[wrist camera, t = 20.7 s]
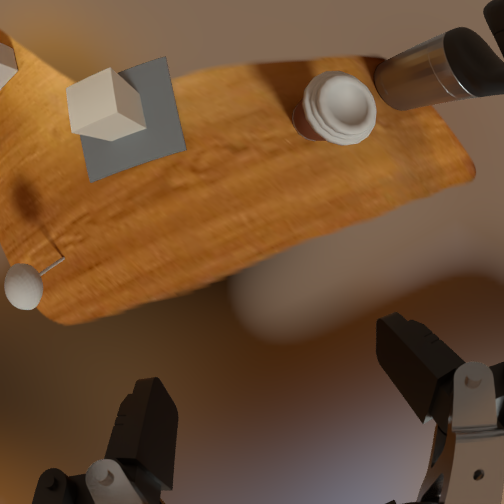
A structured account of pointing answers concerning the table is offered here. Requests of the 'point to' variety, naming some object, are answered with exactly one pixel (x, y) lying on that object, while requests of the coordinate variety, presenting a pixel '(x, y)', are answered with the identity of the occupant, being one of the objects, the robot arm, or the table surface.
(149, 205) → the table surface
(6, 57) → the milk carton
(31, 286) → the lollipop
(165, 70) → the mat
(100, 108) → the block
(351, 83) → the coffee cup
